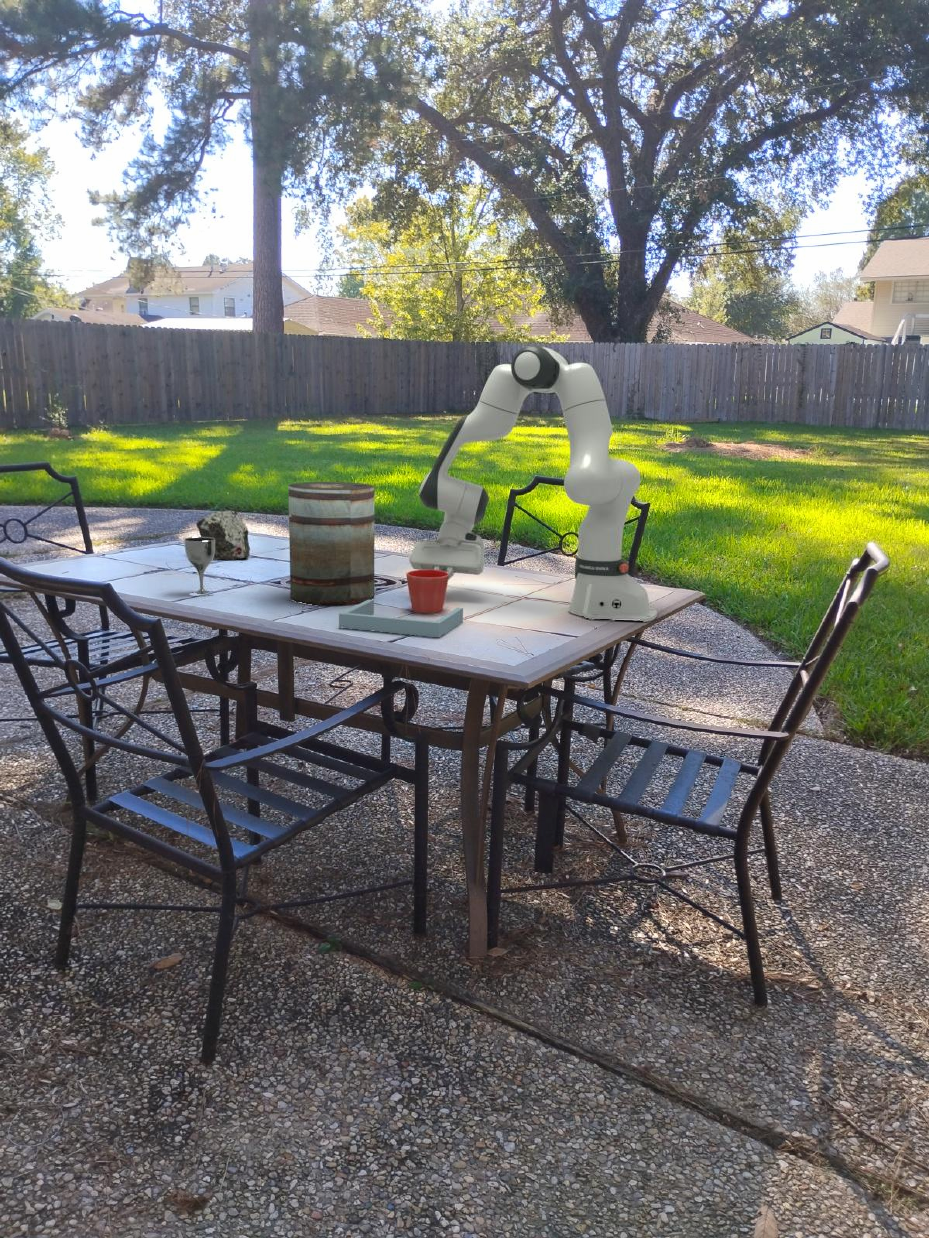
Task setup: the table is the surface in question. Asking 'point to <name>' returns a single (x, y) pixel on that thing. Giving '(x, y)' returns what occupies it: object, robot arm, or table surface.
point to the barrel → (331, 543)
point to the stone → (226, 534)
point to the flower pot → (427, 590)
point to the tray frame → (397, 621)
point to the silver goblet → (200, 555)
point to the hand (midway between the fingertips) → (440, 583)
